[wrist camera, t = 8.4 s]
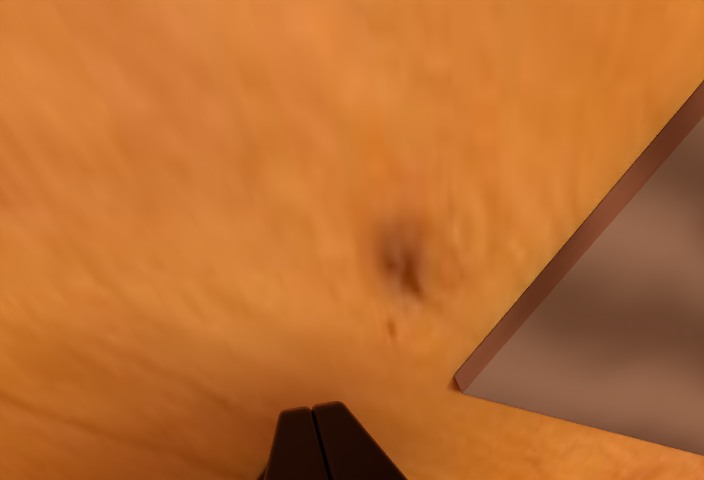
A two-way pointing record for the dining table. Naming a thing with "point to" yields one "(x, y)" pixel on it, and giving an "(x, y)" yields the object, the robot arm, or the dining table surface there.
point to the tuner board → (617, 308)
